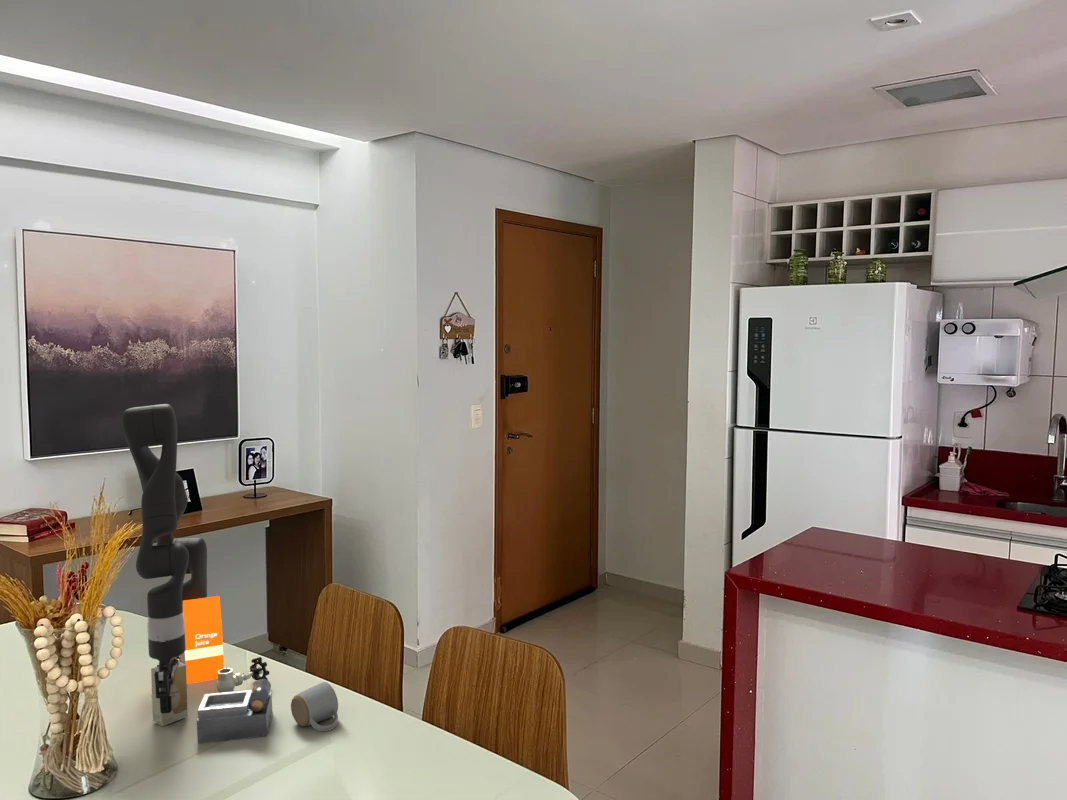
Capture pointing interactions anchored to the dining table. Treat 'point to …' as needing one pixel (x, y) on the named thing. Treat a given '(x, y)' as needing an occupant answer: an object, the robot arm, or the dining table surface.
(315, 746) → the dining table surface
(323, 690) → the ceramic mug
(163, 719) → the skincare box
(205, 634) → the orange juice
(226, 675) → the valve
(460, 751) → the dining table surface
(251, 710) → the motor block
